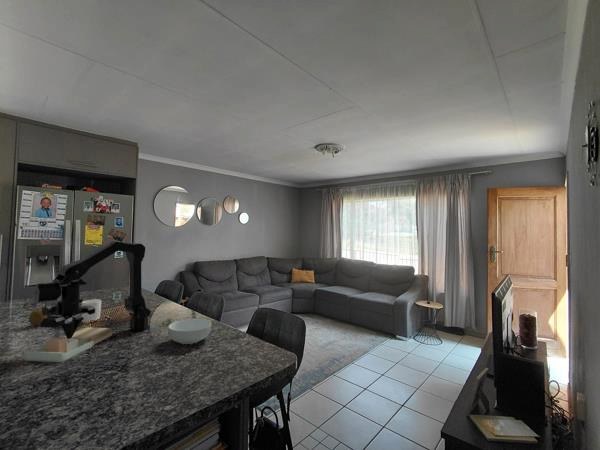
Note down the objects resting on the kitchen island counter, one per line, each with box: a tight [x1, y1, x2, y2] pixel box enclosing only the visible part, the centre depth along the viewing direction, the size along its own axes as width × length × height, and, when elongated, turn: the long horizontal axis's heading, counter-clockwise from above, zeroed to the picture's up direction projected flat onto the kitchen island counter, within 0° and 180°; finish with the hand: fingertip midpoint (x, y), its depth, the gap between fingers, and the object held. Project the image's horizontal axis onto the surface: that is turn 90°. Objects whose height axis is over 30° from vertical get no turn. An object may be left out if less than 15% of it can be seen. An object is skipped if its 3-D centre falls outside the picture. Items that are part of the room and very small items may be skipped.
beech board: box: [62, 327, 113, 345], centre depth 120 cm, size 12×12×3 cm
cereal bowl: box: [167, 318, 212, 345], centre depth 121 cm, size 17×17×7 cm
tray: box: [23, 341, 95, 363], centre depth 107 cm, size 14×14×3 cm
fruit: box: [28, 308, 47, 327], centre depth 135 cm, size 6×6×8 cm
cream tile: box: [66, 338, 78, 352], centre depth 109 cm, size 5×5×3 cm
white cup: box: [81, 298, 102, 324], centre depth 143 cm, size 8×8×10 cm
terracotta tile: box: [45, 337, 66, 353], centre depth 105 cm, size 5×5×3 cm
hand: (69, 338), depth 111 cm, fingers closed
